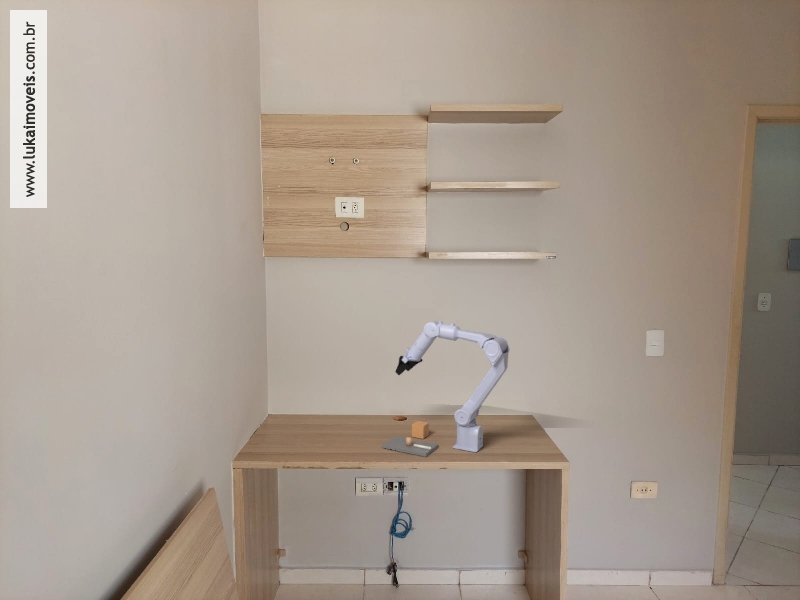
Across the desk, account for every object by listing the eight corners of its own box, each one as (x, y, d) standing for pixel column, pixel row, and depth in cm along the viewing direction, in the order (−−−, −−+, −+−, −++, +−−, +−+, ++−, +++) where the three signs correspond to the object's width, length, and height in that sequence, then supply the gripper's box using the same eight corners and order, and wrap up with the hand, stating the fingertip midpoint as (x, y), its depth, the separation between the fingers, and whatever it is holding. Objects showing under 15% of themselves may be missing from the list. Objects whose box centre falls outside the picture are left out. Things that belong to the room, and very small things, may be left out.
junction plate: (438, 446, 193) (438, 436, 193) (425, 456, 183) (426, 445, 183) (395, 438, 201) (395, 428, 201) (381, 447, 192) (381, 437, 191)
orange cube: (428, 434, 206) (428, 422, 205) (423, 438, 201) (423, 426, 201) (417, 432, 208) (417, 420, 208) (411, 436, 204) (412, 424, 203)
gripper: (421, 336, 208) (403, 361, 213) (404, 342, 195) (386, 368, 200) (434, 348, 206) (415, 372, 210) (418, 355, 193) (398, 380, 198)
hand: (401, 371), depth 205 cm, fingers open, 7 cm apart
